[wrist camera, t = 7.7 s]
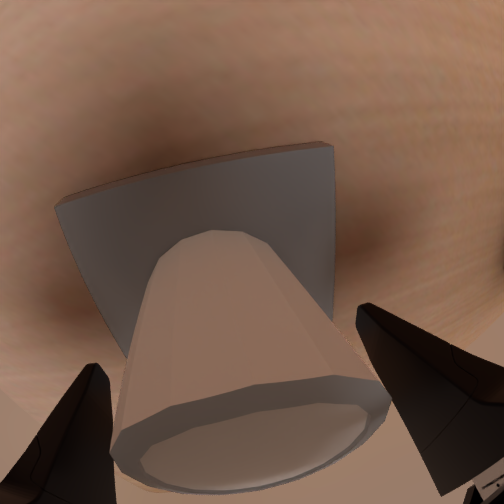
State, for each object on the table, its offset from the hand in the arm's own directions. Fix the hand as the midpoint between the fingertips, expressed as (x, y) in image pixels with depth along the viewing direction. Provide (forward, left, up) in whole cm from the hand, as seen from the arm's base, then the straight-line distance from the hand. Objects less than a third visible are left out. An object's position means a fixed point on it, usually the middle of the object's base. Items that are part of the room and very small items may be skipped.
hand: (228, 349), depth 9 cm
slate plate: (0, 0, -4) cm, 4 cm away
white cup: (0, 0, -3) cm, 3 cm away
